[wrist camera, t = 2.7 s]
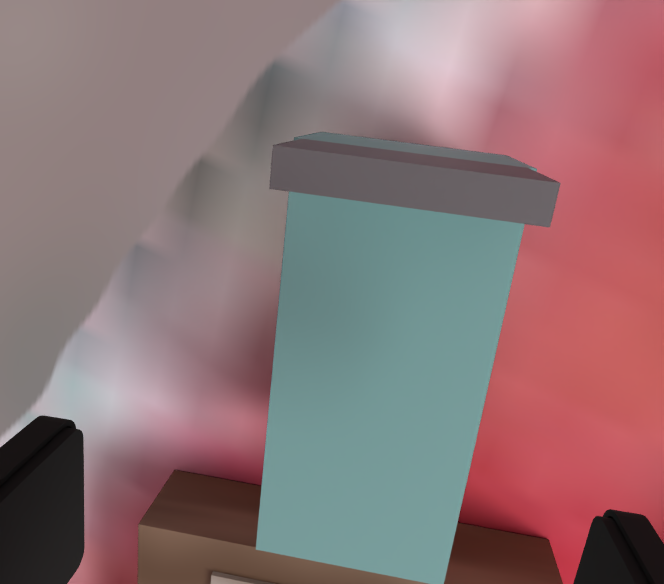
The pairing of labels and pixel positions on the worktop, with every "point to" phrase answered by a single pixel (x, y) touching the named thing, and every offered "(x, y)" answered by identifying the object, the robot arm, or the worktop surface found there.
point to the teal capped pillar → (386, 344)
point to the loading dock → (290, 572)
